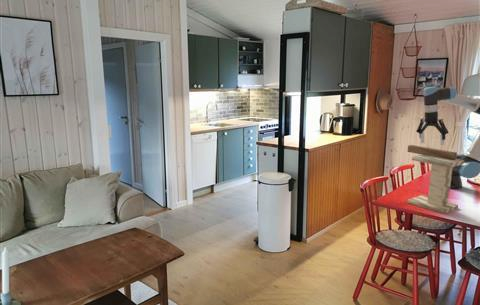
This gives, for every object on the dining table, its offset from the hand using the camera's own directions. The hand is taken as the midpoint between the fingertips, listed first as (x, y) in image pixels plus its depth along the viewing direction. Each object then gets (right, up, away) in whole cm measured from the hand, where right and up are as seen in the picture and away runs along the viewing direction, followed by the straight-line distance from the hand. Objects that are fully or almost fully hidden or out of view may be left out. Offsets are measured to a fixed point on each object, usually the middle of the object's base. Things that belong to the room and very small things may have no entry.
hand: (432, 143), depth 235 cm
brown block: (-9, -7, -14) cm, 18 cm away
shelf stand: (-9, -38, -16) cm, 42 cm away
